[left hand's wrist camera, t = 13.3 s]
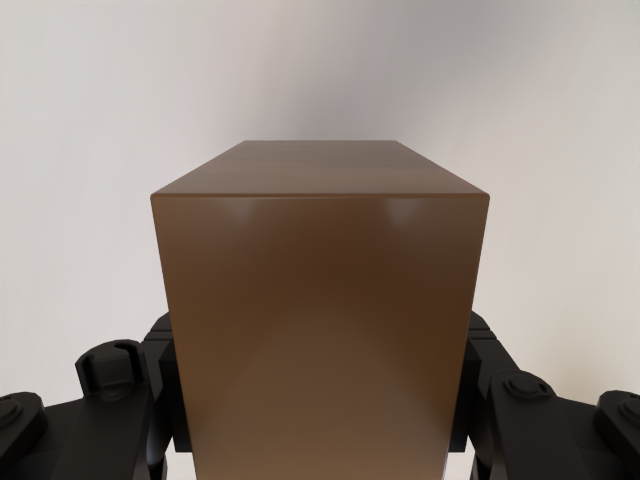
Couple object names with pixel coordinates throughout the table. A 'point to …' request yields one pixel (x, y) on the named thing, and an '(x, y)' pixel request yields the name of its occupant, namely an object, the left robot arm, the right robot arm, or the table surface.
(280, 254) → the bar
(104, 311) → the table surface
